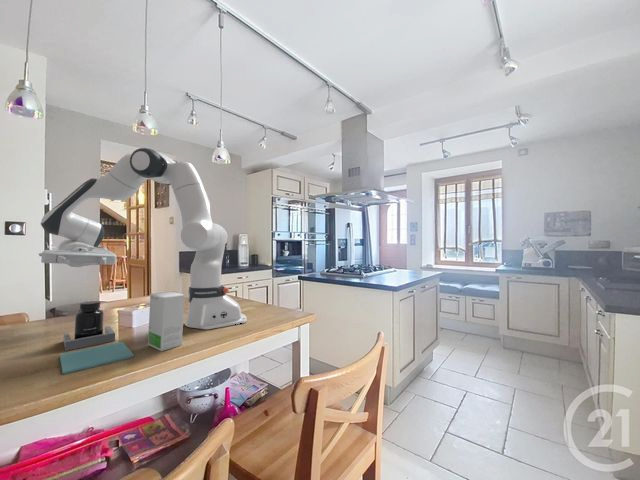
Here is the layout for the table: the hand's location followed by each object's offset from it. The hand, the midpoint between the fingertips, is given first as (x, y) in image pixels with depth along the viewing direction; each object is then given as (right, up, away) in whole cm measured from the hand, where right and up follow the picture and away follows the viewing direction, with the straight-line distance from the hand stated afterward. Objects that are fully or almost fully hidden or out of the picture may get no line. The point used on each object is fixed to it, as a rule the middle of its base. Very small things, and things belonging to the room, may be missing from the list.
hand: (85, 261), depth 93 cm
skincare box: (+34, -25, -11) cm, 43 cm away
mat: (+20, -24, -20) cm, 37 cm away
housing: (+8, -24, -8) cm, 26 cm away
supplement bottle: (+8, -24, -8) cm, 27 cm away
